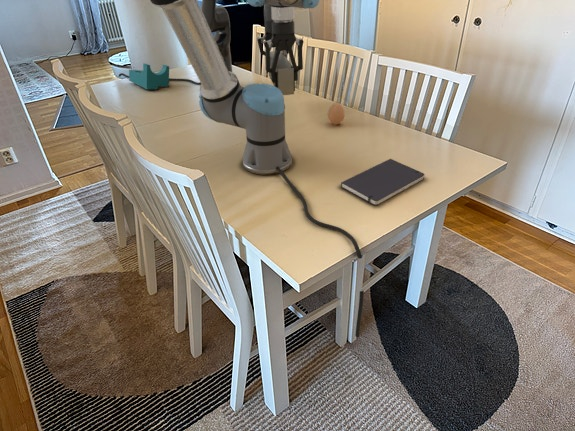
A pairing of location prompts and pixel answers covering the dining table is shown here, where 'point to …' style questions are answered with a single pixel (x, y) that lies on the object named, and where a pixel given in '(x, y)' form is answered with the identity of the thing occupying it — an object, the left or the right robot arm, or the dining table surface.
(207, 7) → the left robot arm
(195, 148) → the dining table surface
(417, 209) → the dining table surface
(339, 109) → the egg
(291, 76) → the bar
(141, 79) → the teal notched block
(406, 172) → the notebook
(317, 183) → the dining table surface
